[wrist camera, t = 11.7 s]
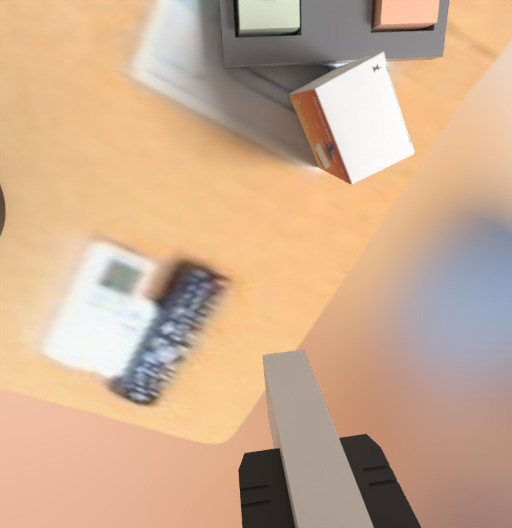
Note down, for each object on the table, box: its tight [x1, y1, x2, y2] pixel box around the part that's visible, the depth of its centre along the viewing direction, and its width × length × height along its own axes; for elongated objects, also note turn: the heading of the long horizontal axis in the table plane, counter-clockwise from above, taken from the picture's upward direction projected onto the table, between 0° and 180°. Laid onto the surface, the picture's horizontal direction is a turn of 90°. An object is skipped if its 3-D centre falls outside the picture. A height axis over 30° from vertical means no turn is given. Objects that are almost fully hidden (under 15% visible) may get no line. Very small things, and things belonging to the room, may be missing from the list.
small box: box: [288, 51, 415, 184], centre depth 33 cm, size 8×6×10 cm
